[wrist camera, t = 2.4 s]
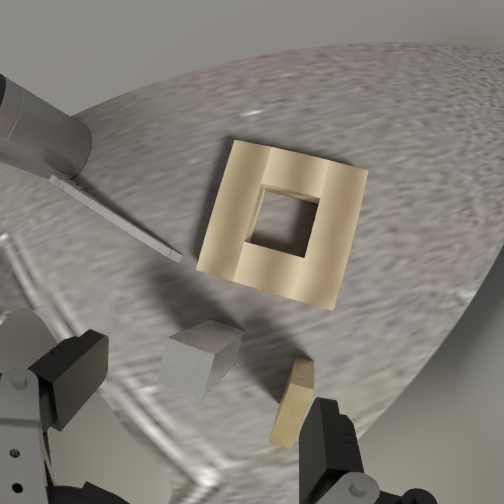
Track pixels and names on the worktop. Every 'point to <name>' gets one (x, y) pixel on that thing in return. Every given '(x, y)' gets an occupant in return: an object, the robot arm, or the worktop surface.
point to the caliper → (114, 217)
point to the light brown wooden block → (293, 403)
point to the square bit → (199, 357)
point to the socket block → (247, 210)
